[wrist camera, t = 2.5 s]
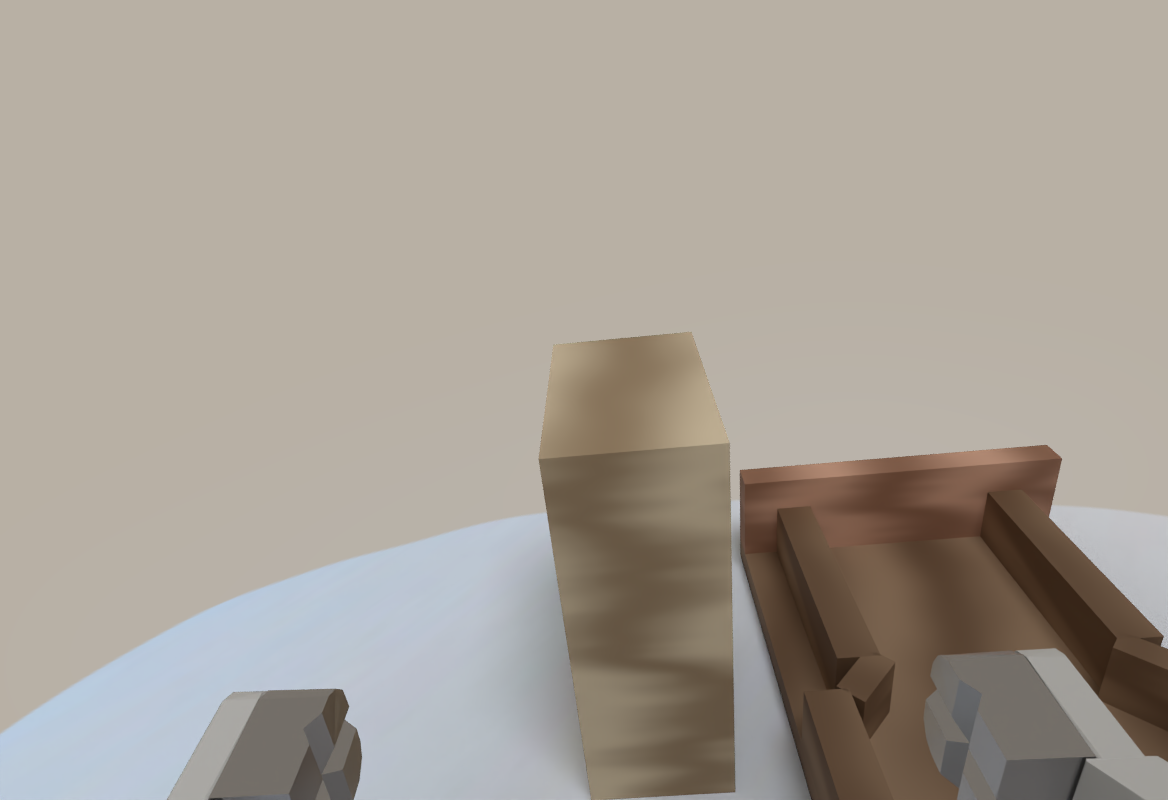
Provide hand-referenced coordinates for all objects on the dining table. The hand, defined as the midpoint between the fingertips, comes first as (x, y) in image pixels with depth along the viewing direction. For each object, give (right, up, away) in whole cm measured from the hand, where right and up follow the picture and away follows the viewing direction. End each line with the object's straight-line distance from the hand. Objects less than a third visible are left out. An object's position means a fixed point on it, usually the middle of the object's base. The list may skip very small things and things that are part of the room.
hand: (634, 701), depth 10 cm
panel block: (+2, -8, +18) cm, 20 cm away
